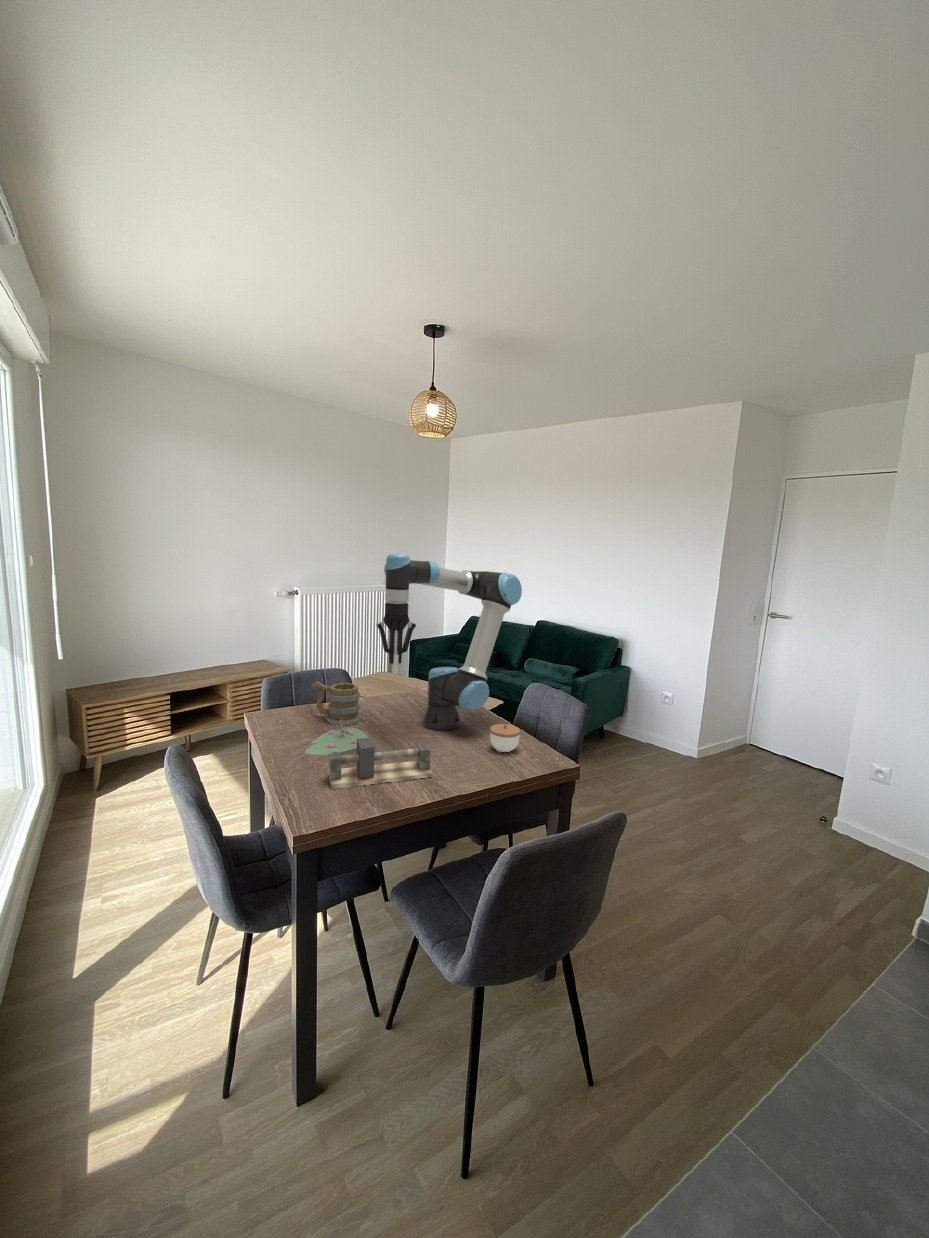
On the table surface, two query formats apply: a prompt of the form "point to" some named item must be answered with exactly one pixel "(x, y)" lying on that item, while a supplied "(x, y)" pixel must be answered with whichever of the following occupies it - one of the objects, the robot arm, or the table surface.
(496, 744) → the lidded jar
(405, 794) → the table surface
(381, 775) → the grey sliding block rail
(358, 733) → the plant
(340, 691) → the tankard
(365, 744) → the collar
